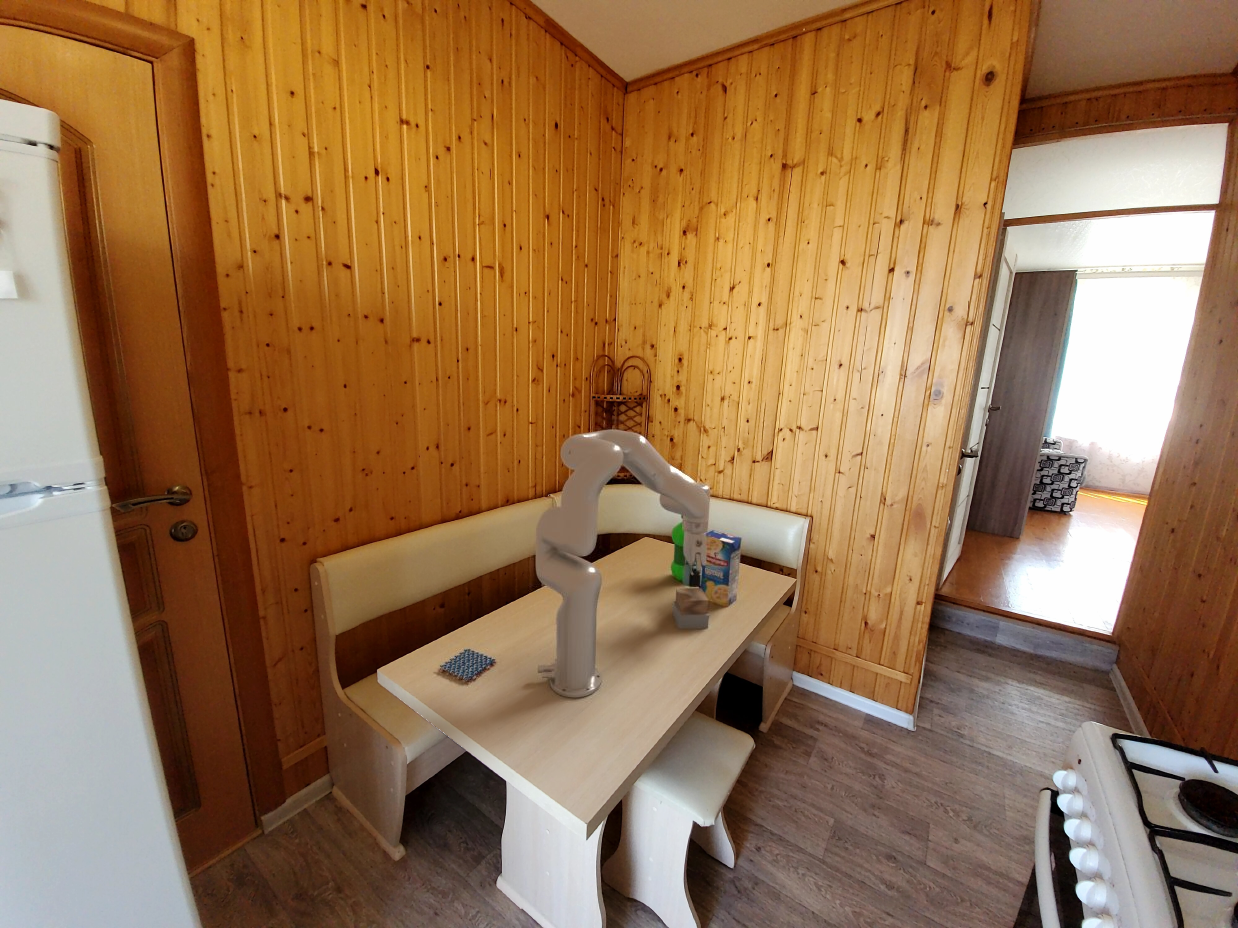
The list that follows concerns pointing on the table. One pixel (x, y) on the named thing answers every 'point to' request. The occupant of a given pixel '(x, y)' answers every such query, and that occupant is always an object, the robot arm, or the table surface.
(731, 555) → the beverage box
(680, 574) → the green soda bottle
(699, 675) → the table surface
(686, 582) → the blue egg-shaped pebble
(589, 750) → the table surface
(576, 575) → the robot arm
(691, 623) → the tower base
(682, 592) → the tower top
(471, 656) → the woven mat
